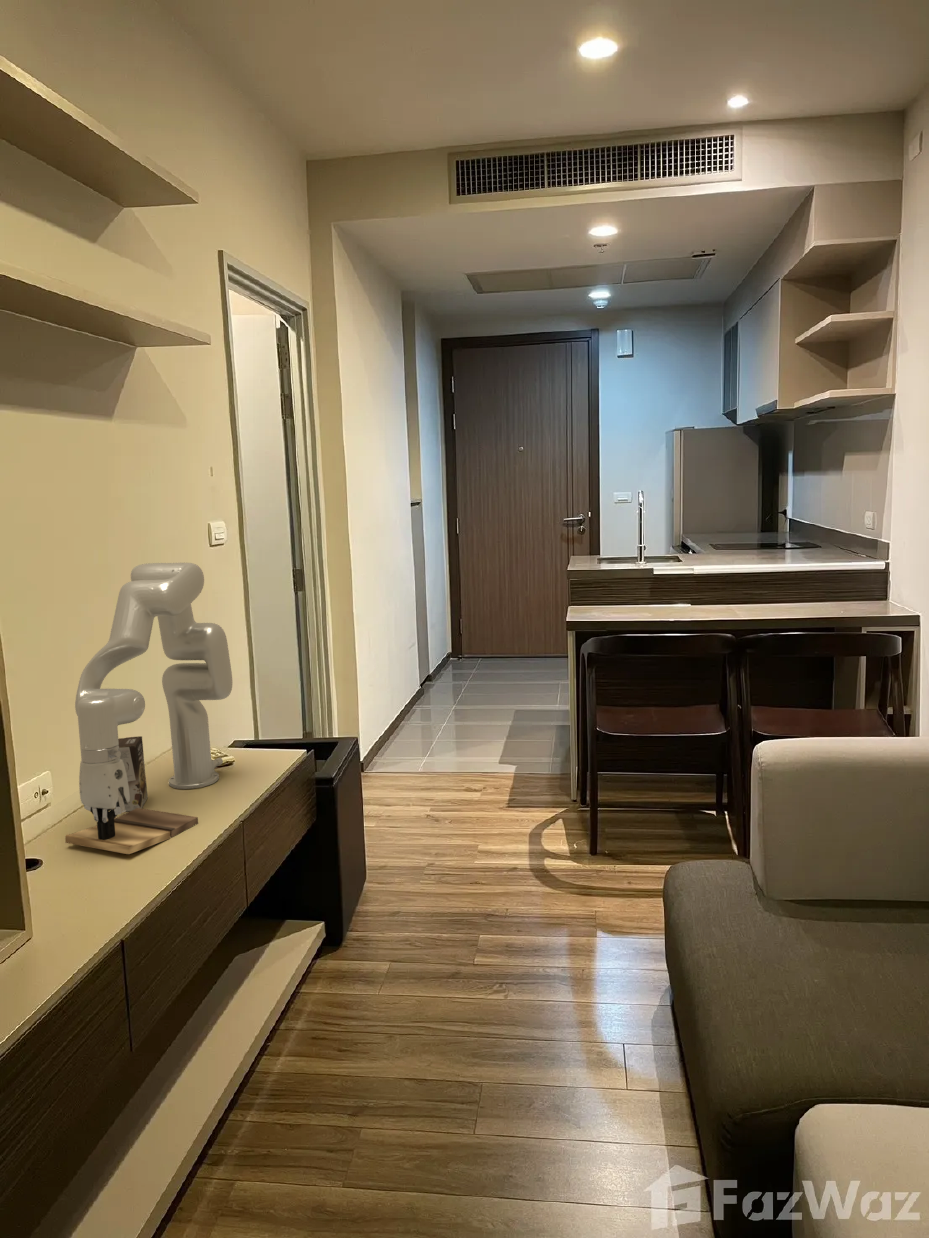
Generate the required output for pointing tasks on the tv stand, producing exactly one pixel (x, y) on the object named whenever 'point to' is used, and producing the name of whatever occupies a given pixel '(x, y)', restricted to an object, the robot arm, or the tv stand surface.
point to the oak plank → (119, 838)
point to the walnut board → (157, 820)
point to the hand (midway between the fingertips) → (106, 837)
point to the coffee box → (134, 770)
